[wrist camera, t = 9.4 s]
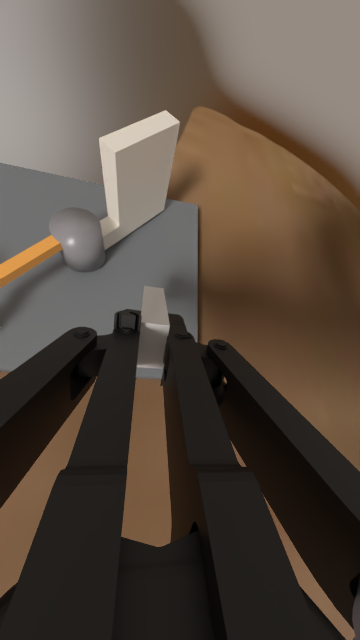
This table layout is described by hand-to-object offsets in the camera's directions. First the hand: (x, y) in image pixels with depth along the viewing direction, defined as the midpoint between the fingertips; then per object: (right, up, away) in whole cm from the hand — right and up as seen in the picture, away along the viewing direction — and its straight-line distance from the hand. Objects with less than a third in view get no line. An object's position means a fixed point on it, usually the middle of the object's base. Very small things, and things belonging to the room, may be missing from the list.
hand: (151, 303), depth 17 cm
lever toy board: (-8, +4, +7) cm, 11 cm away
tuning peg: (-7, +5, +5) cm, 10 cm away
